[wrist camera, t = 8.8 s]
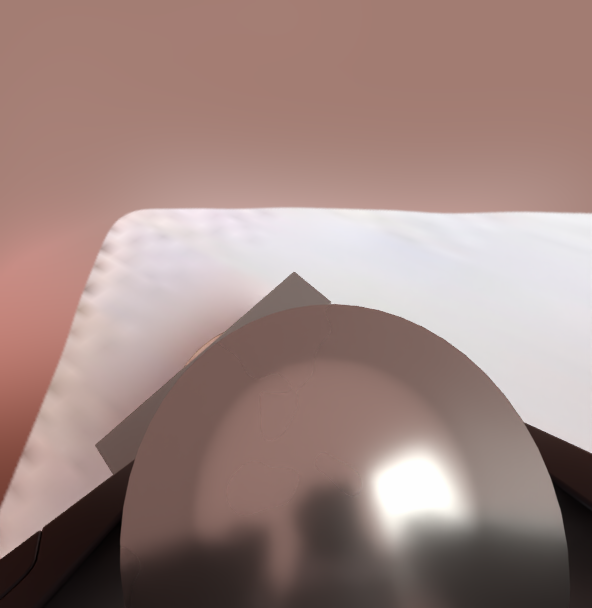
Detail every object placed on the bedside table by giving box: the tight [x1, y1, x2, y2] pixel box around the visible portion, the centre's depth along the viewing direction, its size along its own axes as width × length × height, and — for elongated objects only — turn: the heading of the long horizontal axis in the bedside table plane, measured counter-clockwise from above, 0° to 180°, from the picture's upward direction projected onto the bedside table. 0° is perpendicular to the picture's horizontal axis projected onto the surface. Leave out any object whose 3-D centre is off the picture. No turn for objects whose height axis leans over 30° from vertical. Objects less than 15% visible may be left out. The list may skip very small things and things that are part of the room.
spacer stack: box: [120, 304, 570, 608], centre depth 9 cm, size 5×5×12 cm
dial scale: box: [95, 272, 331, 475], centre depth 15 cm, size 11×14×6 cm
